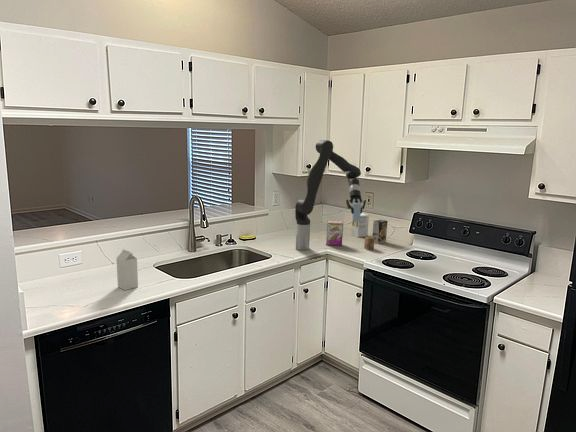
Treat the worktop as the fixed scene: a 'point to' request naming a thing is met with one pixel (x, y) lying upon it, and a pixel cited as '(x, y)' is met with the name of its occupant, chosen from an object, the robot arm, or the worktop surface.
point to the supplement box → (360, 226)
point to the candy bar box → (334, 233)
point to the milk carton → (127, 270)
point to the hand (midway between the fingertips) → (356, 213)
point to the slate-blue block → (356, 212)
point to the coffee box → (379, 231)
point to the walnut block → (369, 243)
